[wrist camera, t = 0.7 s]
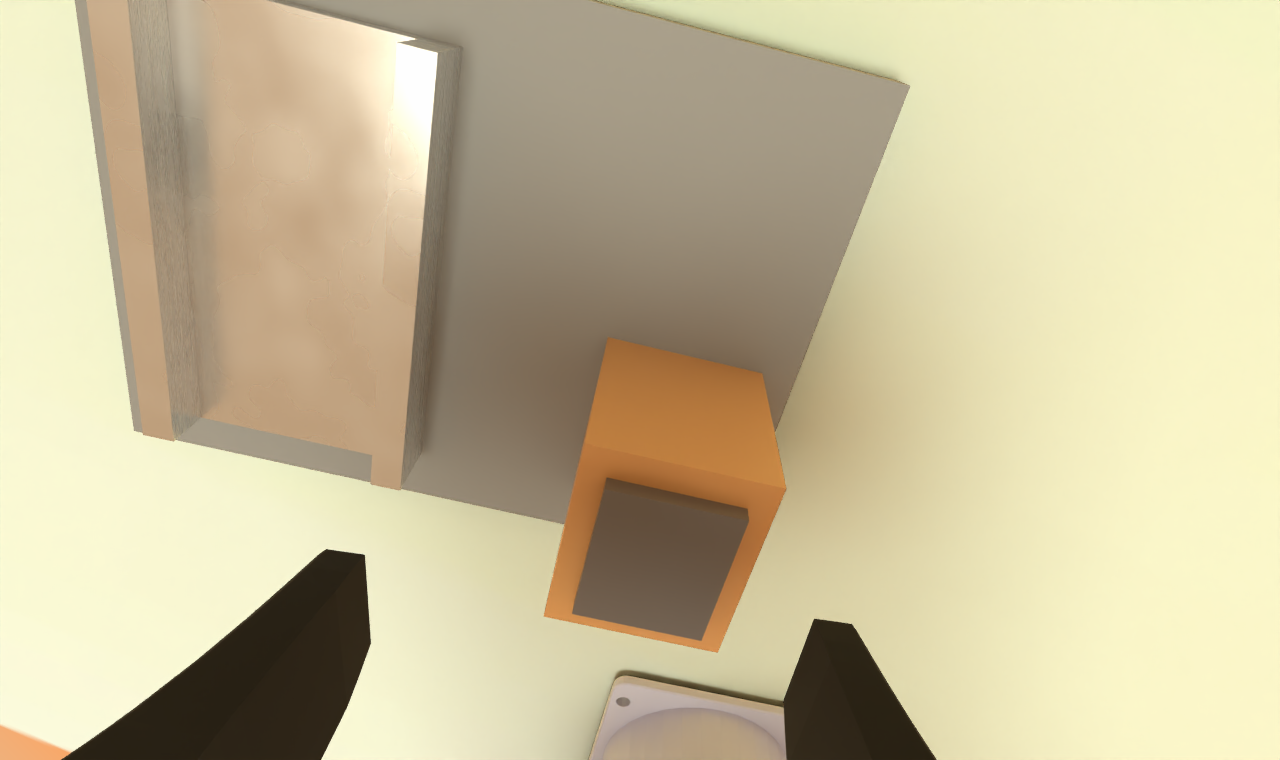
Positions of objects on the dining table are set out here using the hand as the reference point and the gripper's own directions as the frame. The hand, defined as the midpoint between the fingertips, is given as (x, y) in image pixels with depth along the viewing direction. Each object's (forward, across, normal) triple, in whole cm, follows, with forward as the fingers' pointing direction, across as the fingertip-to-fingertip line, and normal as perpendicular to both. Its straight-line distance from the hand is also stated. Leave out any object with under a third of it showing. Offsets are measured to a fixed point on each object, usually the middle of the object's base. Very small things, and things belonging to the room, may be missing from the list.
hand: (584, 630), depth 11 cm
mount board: (+10, +4, -2) cm, 11 cm away
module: (+9, -1, +2) cm, 9 cm away
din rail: (+10, +8, -2) cm, 13 cm away
